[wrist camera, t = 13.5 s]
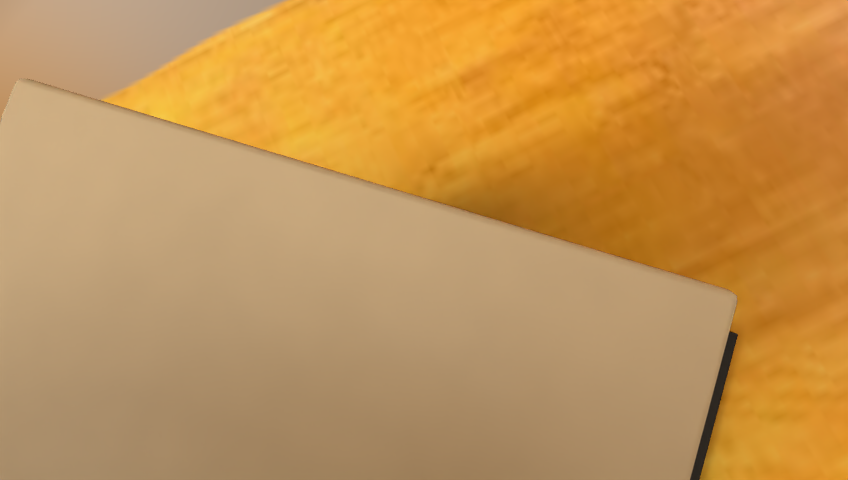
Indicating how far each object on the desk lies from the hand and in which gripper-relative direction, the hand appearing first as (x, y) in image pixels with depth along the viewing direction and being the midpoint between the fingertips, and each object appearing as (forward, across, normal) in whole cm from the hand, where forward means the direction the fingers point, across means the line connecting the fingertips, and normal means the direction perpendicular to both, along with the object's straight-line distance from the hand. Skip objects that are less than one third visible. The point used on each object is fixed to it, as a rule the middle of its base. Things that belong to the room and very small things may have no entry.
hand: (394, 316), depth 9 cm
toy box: (+4, 0, +6) cm, 7 cm away
